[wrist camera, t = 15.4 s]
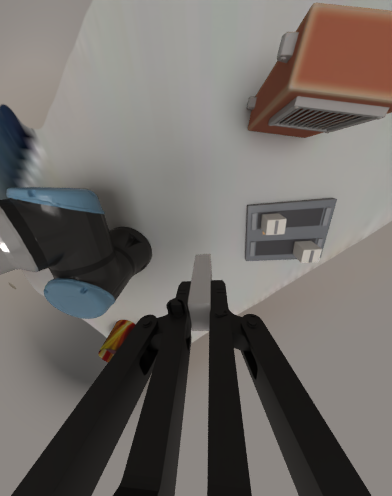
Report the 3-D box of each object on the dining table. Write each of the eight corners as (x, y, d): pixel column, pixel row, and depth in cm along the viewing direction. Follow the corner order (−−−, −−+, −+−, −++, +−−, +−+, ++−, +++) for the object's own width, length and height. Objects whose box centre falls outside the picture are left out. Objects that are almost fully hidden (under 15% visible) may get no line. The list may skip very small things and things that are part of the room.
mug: (146, 322, 67) (134, 352, 56) (131, 337, 73) (117, 367, 62) (126, 311, 65) (109, 339, 54) (112, 327, 71) (94, 356, 60)
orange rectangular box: (248, 91, 32) (325, 101, 31) (240, 134, 35) (309, 143, 35) (301, -17, 13) (498, 4, 12) (271, 99, 16) (426, 118, 16)
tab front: (260, 228, 42) (266, 235, 38) (261, 214, 40) (267, 220, 36) (277, 227, 41) (284, 234, 37) (278, 213, 40) (287, 219, 35)
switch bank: (245, 258, 49) (246, 261, 47) (247, 204, 42) (248, 206, 40) (317, 255, 46) (321, 259, 44) (332, 197, 39) (338, 199, 37)
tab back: (292, 253, 44) (301, 263, 40) (294, 241, 43) (304, 250, 38) (308, 252, 44) (318, 262, 39) (311, 240, 42) (322, 249, 38)
